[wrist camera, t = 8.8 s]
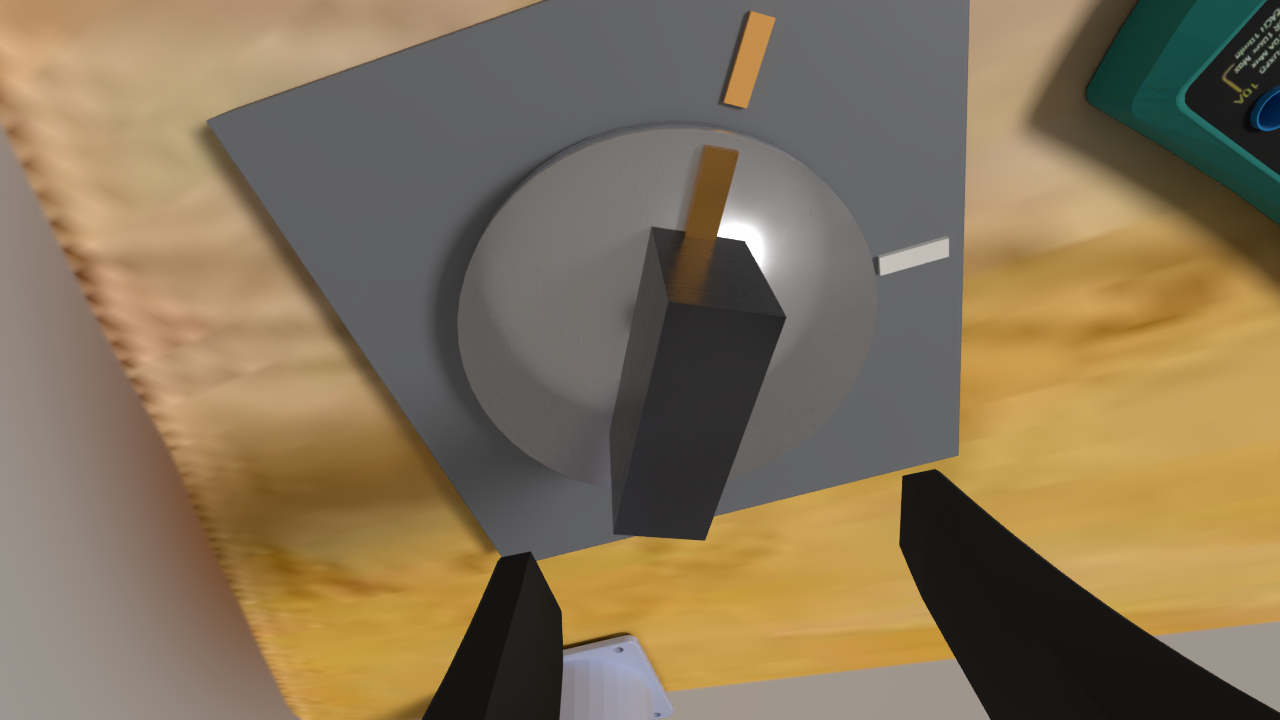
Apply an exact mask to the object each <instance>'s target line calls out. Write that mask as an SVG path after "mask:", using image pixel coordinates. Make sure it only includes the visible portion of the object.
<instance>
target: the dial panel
mask: <svg viewBox="0 0 1280 720" xmlns="http://www.w3.org/2000/svg"><path fill="white" fill-rule="evenodd" d="M969 4H970V0H543V1H540V2H537V3H534V4H532V5H529V6H526V7H523V8H520V9H517V10H515V11H512V12H509V13H506V14H503V15H500V16H497V17H495V18H492V19H489V20H486V21H483V22H480V23H477V24H475V25H472V26H469V27H466V28H463V29H460V30H458V31H455V32H452V33H449V34H446V35H443V36H440V37H438V38H435V39H432V40H429V41H426V42H423V43H421V44H418V45H415V46H412V47H409V48H406V49H403V50H401V51H398V52H395V53H392V54H389V55H386V56H383V57H381V58H378V59H375V60H372V61H369V62H366V63H364V64H361V65H358V66H355V67H352V68H349V69H346V70H344V71H341V72H338V73H335V74H332V75H329V76H326V77H324V78H321V79H318V80H315V81H312V82H309V83H307V84H304V85H301V86H298V87H295V88H292V89H289V90H287V91H284V92H281V93H278V94H275V95H272V96H269V97H267V98H264V99H261V100H258V101H255V102H252V103H250V104H247V105H244V106H241V107H238V108H235V109H232V110H230V111H228V112H225V113H223V114H221V115H218V116H216V117H214V118H211V119H209V120H207V123H208V124H209V126H210V127H211V129H212V130H213V132H214V133H215V135H216V136H217V138H218V139H219V141H220V142H221V144H222V145H223V147H224V148H225V150H226V151H227V152H228V154H229V155H230V157H231V158H232V160H233V161H234V163H235V164H236V166H237V167H238V169H239V170H240V172H241V173H242V175H243V176H244V178H245V179H246V180H247V182H248V183H249V185H250V186H251V188H252V189H253V191H254V192H255V194H256V195H257V197H258V198H259V200H260V201H261V203H262V204H263V206H264V207H265V208H266V210H267V211H268V213H269V214H270V216H271V217H272V219H273V220H274V222H275V223H276V225H277V226H278V228H279V229H280V231H281V232H282V234H283V235H284V236H285V238H286V239H287V241H288V242H289V244H290V245H291V247H292V248H293V250H294V251H295V253H296V254H297V256H298V257H299V259H300V260H301V262H302V263H303V265H304V266H305V267H306V269H307V270H308V272H309V273H310V275H311V276H312V278H313V279H314V281H315V282H316V284H317V285H318V287H319V288H320V290H321V291H322V293H323V294H324V295H325V297H326V298H327V300H328V301H329V303H330V304H331V306H332V307H333V309H334V310H335V312H336V313H337V315H338V316H339V318H340V319H341V321H342V322H343V323H344V325H345V326H346V328H347V329H348V331H349V332H350V334H351V335H352V337H353V338H354V340H355V341H356V343H357V344H358V346H359V347H360V349H361V350H362V351H363V353H364V354H365V356H366V357H367V359H368V360H369V362H370V363H371V365H372V366H373V368H374V369H375V371H376V372H377V374H378V375H379V377H380V378H381V379H382V381H383V382H384V384H385V385H386V387H387V388H388V390H389V391H390V393H391V394H392V396H393V397H394V399H395V400H396V402H397V403H398V405H399V406H400V408H401V409H402V410H403V412H404V413H405V415H406V416H407V418H408V419H409V421H410V422H411V424H412V425H413V427H414V428H415V430H416V431H417V433H418V434H419V436H420V437H421V438H422V440H423V441H424V443H425V444H426V446H427V447H428V449H429V450H430V452H431V453H432V455H433V456H434V458H435V459H436V461H437V462H438V464H439V465H440V466H441V468H442V469H443V471H444V472H445V474H446V475H447V477H448V478H449V480H450V481H451V483H452V484H453V486H454V487H455V489H456V490H457V492H458V493H459V494H460V496H461V497H462V499H463V500H464V502H465V503H466V505H467V506H468V508H469V509H470V511H471V512H472V514H473V515H474V517H475V518H476V520H477V521H478V522H479V524H480V525H481V527H482V528H483V530H484V531H485V533H486V534H487V536H488V537H489V539H490V540H491V542H492V543H493V545H494V546H495V548H496V549H497V551H498V552H499V553H500V555H501V556H502V557H505V556H510V555H515V554H520V553H524V552H529V551H531V552H532V554H533V556H534V558H535V560H536V561H537V560H541V559H545V558H549V557H553V556H557V555H561V554H565V553H569V552H574V551H578V550H582V549H586V548H590V547H594V546H598V545H602V544H606V543H610V542H614V541H618V540H622V539H626V538H630V537H634V536H630V535H615V534H613V515H612V490H611V489H609V488H605V487H601V486H596V485H592V484H588V483H585V482H582V481H579V480H576V479H573V478H571V477H568V476H566V475H564V474H561V473H559V472H557V471H555V470H553V469H551V468H548V467H547V466H545V465H543V464H542V463H540V462H539V461H537V460H535V459H534V458H532V457H530V456H529V455H528V454H526V453H525V452H524V451H522V450H521V449H520V448H519V447H517V446H516V445H515V444H513V443H512V442H511V441H510V440H509V439H508V438H507V437H506V436H505V435H504V434H503V433H502V432H501V431H500V430H499V429H498V428H497V427H496V425H495V424H494V423H493V422H492V420H491V419H490V418H489V416H488V415H487V414H486V412H485V411H484V410H483V408H482V406H481V405H480V403H479V401H478V399H477V398H476V396H475V394H474V392H473V390H472V388H471V386H470V383H469V381H468V378H467V375H466V373H465V370H464V367H463V363H462V358H461V353H460V349H459V342H458V325H457V319H458V309H459V299H460V293H461V289H462V286H463V282H464V278H465V274H466V271H467V268H468V265H469V263H470V260H471V258H472V255H473V253H474V251H475V248H476V246H477V244H478V241H479V239H480V237H481V235H482V232H483V230H484V229H485V227H486V225H487V224H488V222H489V221H490V219H491V218H492V216H493V214H494V213H495V211H496V210H497V208H498V207H499V206H500V204H501V203H502V202H503V201H504V200H505V199H506V197H507V196H508V195H509V194H510V193H511V192H512V190H513V189H514V188H515V187H516V186H517V185H518V184H519V183H520V182H521V181H523V180H524V179H525V178H526V177H527V176H528V175H529V174H531V173H532V172H533V171H534V170H535V169H536V168H537V167H539V166H540V165H542V164H543V163H545V162H546V161H548V160H549V159H551V158H552V157H554V156H555V155H557V154H558V153H560V152H562V151H563V150H565V149H567V148H569V147H571V146H573V145H575V144H578V143H580V142H582V141H584V140H586V139H588V138H590V137H592V136H596V135H599V134H602V133H605V132H608V131H612V130H615V129H618V128H621V127H626V126H632V125H638V124H644V123H650V122H663V121H692V122H701V123H710V124H717V125H721V126H725V127H729V128H733V129H737V130H741V131H745V132H747V133H750V134H752V135H755V136H757V137H759V138H762V139H764V140H766V141H769V142H771V143H773V144H775V145H777V146H778V147H780V148H782V149H783V150H785V151H786V152H788V153H790V154H791V155H793V156H795V157H796V158H798V159H799V160H800V161H801V162H802V163H804V164H805V165H806V166H807V167H808V168H809V169H811V170H812V171H813V172H814V173H815V174H817V175H818V176H819V177H820V178H821V179H822V180H823V181H824V182H825V183H826V184H827V185H828V186H829V187H830V188H831V189H832V190H833V191H834V193H835V194H836V195H837V196H838V197H839V198H840V200H841V201H842V202H843V203H844V204H845V205H846V207H847V208H848V209H849V211H850V212H851V214H852V216H853V217H854V219H855V221H856V222H857V224H858V226H859V227H860V229H861V231H862V233H863V236H864V238H865V241H866V243H867V246H868V248H869V251H870V253H871V257H872V262H873V266H874V271H875V275H876V284H877V301H878V302H877V313H876V324H875V329H874V333H873V337H872V341H871V345H870V349H869V351H868V354H867V356H866V359H865V362H864V364H863V367H862V369H861V371H860V373H859V375H858V377H857V378H856V380H855V382H854V384H853V386H852V387H851V389H850V391H849V392H848V393H847V395H846V396H845V398H844V399H843V400H842V402H841V403H840V405H839V406H838V407H837V409H836V410H835V411H834V412H833V413H832V414H831V415H830V416H829V417H828V419H827V420H826V421H825V422H824V423H823V424H822V425H821V426H820V427H819V428H818V429H817V430H815V431H814V432H813V433H812V434H811V435H810V436H809V437H808V438H806V439H805V440H804V441H803V442H801V443H800V444H799V445H797V446H796V447H794V448H793V449H792V450H790V451H789V452H787V453H786V454H784V455H783V456H781V457H779V458H778V459H776V460H774V461H772V462H771V463H769V464H767V465H765V466H763V467H761V468H759V469H757V470H754V471H752V472H750V473H748V474H746V475H743V476H740V477H737V478H734V479H731V480H729V481H727V482H726V484H725V487H724V490H723V493H722V495H721V498H720V501H719V504H718V506H717V509H716V512H715V514H714V516H718V515H722V514H726V513H730V512H734V511H738V510H742V509H746V508H750V507H754V506H758V505H762V504H766V503H770V502H774V501H778V500H782V499H786V498H790V497H794V496H798V495H802V494H806V493H810V492H814V491H818V490H822V489H826V488H830V487H834V486H838V485H842V484H846V483H850V482H854V481H858V480H862V479H866V478H870V477H874V476H878V475H882V474H886V473H890V472H894V471H898V470H902V469H906V468H910V467H914V466H918V465H922V464H926V463H930V462H934V461H938V460H942V459H946V458H950V457H954V456H958V454H959V413H960V372H961V331H962V290H963V249H964V208H965V168H966V127H967V86H968V45H969Z"/></svg>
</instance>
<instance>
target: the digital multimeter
mask: <svg viewBox="0 0 1280 720" xmlns="http://www.w3.org/2000/svg"><path fill="white" fill-rule="evenodd" d="M1086 98H1087V100H1088V101H1089V103H1090V105H1092V106H1094V107H1095V108H1097V109H1099V110H1101V111H1102V112H1104V113H1106V114H1108V115H1109V116H1111V117H1113V118H1114V119H1116V120H1118V121H1120V122H1121V123H1123V124H1125V125H1127V126H1128V127H1130V128H1132V129H1133V130H1135V131H1137V132H1139V133H1140V134H1142V135H1144V136H1146V137H1147V138H1149V139H1151V140H1152V141H1154V142H1156V143H1158V144H1159V145H1161V146H1162V147H1164V148H1165V149H1167V150H1169V151H1170V152H1172V153H1173V154H1175V155H1177V156H1178V157H1180V158H1181V159H1183V160H1185V161H1186V162H1188V163H1189V164H1191V165H1193V166H1194V167H1196V168H1197V169H1199V170H1200V171H1202V172H1204V173H1205V174H1207V175H1208V176H1210V177H1212V178H1213V179H1215V180H1216V181H1218V182H1220V183H1221V184H1223V185H1224V186H1226V187H1228V188H1229V189H1230V190H1232V191H1233V192H1235V193H1236V194H1237V195H1239V196H1240V197H1241V198H1243V199H1244V200H1246V201H1247V202H1248V203H1250V204H1251V205H1252V206H1254V207H1255V208H1256V209H1258V210H1259V211H1261V212H1262V213H1263V214H1265V215H1266V216H1267V217H1269V218H1270V219H1272V220H1273V221H1274V222H1276V223H1277V224H1278V225H1280V0H1139V2H1138V3H1137V5H1136V6H1135V8H1134V9H1133V11H1132V12H1131V14H1130V15H1129V17H1128V18H1127V20H1126V21H1125V23H1124V25H1123V26H1122V28H1121V30H1120V31H1119V33H1118V35H1117V37H1116V38H1115V40H1114V42H1113V44H1112V45H1111V47H1110V49H1109V50H1108V52H1107V54H1106V56H1105V57H1104V59H1103V61H1102V63H1101V64H1100V66H1099V68H1098V70H1097V71H1096V73H1095V75H1094V76H1093V78H1092V80H1091V82H1090V84H1089V85H1088V87H1087V95H1086ZM1189 108H1190V109H1189ZM1192 110H1193V111H1194V112H1193V111H1192ZM1196 113H1197V114H1198V115H1197V114H1196ZM1200 116H1201V117H1202V118H1201V117H1200ZM1204 119H1205V120H1204ZM1208 122H1209V123H1208ZM1211 124H1212V125H1213V126H1212V125H1211ZM1215 127H1216V128H1217V129H1216V128H1215ZM1219 130H1220V131H1221V132H1220V131H1219ZM1223 133H1224V134H1225V135H1224V134H1223ZM1227 136H1228V137H1229V138H1228V137H1227ZM1231 139H1232V140H1233V141H1232V140H1231ZM1234 141H1235V142H1236V143H1235V142H1234ZM1238 144H1239V145H1240V146H1239V145H1238ZM1242 147H1243V148H1244V149H1243V148H1242ZM1246 150H1247V151H1248V152H1247V151H1246ZM1250 153H1251V154H1250ZM1253 155H1254V156H1255V157H1254V156H1253ZM1257 158H1258V159H1259V160H1258V159H1257ZM1261 161H1262V162H1263V163H1262V162H1261ZM1265 164H1266V165H1265ZM1269 167H1270V168H1269ZM1272 169H1273V170H1274V171H1273V170H1272ZM1276 172H1277V173H1276Z"/></svg>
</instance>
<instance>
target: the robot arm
mask: <svg viewBox="0 0 1280 720" xmlns="http://www.w3.org/2000/svg"><path fill="white" fill-rule="evenodd" d="M899 545H900V548H901V550H902V553H903V555H904V557H905V560H906V562H907V565H908V567H909V569H910V572H911V574H912V576H913V579H914V581H915V583H916V586H917V588H918V590H919V592H920V595H921V597H922V599H923V601H924V602H925V604H926V606H927V608H928V610H929V611H930V613H931V615H932V617H933V619H934V620H935V622H936V624H937V626H938V628H939V629H940V631H941V633H942V635H943V636H944V638H945V640H946V642H947V644H948V645H949V647H950V649H951V651H952V652H953V654H954V656H955V658H956V659H957V661H958V663H959V665H960V666H961V668H962V670H963V672H964V673H965V675H966V677H967V679H968V681H969V682H970V684H971V685H972V687H973V689H974V691H975V692H976V694H977V696H978V698H979V700H980V702H981V703H982V705H983V707H984V709H985V710H986V712H987V714H988V716H989V718H990V719H991V720H1280V712H1278V711H1276V710H1274V709H1273V708H1271V707H1269V706H1267V705H1265V704H1263V703H1262V702H1260V701H1258V700H1257V699H1255V698H1253V697H1251V696H1249V695H1248V694H1246V693H1244V692H1242V691H1241V690H1239V689H1237V688H1235V687H1233V686H1232V685H1230V684H1229V683H1227V682H1225V681H1223V680H1222V679H1220V678H1219V677H1217V676H1215V675H1214V674H1212V673H1210V672H1209V671H1207V670H1205V669H1204V668H1202V667H1201V666H1199V665H1197V664H1195V663H1194V662H1193V661H1191V660H1189V659H1188V658H1186V657H1184V656H1183V655H1181V654H1180V653H1178V652H1177V651H1175V650H1173V649H1172V648H1170V647H1169V646H1167V645H1166V644H1164V643H1163V642H1161V641H1159V640H1158V639H1156V638H1155V637H1153V636H1152V635H1150V634H1149V633H1147V632H1146V631H1144V630H1143V629H1141V628H1140V627H1138V626H1137V625H1135V624H1134V623H1132V622H1131V621H1129V620H1128V619H1126V618H1125V617H1123V616H1122V615H1120V614H1119V613H1118V612H1116V611H1115V610H1113V609H1112V608H1110V607H1109V606H1107V605H1106V604H1105V603H1103V602H1102V601H1101V600H1099V599H1098V598H1096V597H1095V596H1094V595H1092V594H1091V593H1089V592H1088V591H1087V590H1085V589H1084V588H1082V587H1081V586H1080V585H1078V584H1077V583H1076V582H1074V581H1073V580H1072V579H1070V578H1069V577H1068V576H1066V575H1065V574H1064V573H1062V572H1061V571H1060V570H1058V569H1057V568H1056V567H1054V566H1053V565H1052V564H1050V563H1049V562H1048V561H1047V560H1045V559H1044V558H1043V557H1041V556H1040V555H1039V554H1038V553H1036V552H1035V551H1034V550H1033V549H1031V548H1030V547H1029V546H1027V545H1026V544H1025V543H1024V542H1022V541H1021V540H1020V539H1019V538H1017V537H1016V536H1015V535H1014V534H1012V533H1011V532H1010V531H1009V530H1007V529H1006V528H1005V527H1004V526H1003V525H1001V524H1000V523H999V522H998V521H997V520H995V519H994V518H993V517H992V516H991V515H989V514H988V513H987V512H986V511H985V510H983V509H982V508H981V507H980V506H979V505H978V504H976V503H975V502H974V501H973V500H972V499H971V498H969V497H968V496H967V495H966V494H965V493H964V492H963V491H961V490H960V489H959V488H958V487H957V486H956V485H955V484H953V483H952V482H951V481H950V480H949V479H948V478H947V477H945V476H944V475H943V474H942V473H941V472H939V471H938V470H936V469H934V470H929V471H924V472H919V473H914V474H909V475H904V476H903V477H902V499H901V520H900V542H899ZM672 714H673V704H672V703H671V701H670V699H669V697H668V695H667V693H666V691H665V690H664V688H663V686H662V684H661V682H660V680H659V678H658V676H657V675H656V673H655V671H654V669H653V667H652V665H651V663H650V662H649V660H648V658H647V656H646V654H645V652H644V650H643V649H642V647H641V645H640V643H639V641H638V639H637V638H636V637H634V636H632V635H625V636H621V637H616V638H612V639H608V640H603V641H599V642H595V643H590V644H586V645H582V646H578V647H573V648H569V649H565V650H563V635H562V613H561V609H560V607H559V605H558V603H557V601H556V599H555V597H554V595H553V594H552V592H551V590H550V588H549V586H548V584H547V582H546V580H545V578H544V576H543V574H542V572H541V570H540V568H539V566H538V564H537V562H536V560H535V558H534V556H533V554H532V552H531V551H529V552H524V553H520V554H515V555H510V556H505V557H501V558H500V559H499V561H498V562H497V564H496V567H495V569H494V571H493V574H492V576H491V578H490V581H489V583H488V585H487V588H486V590H485V592H484V594H483V597H482V599H481V601H480V603H479V606H478V608H477V610H476V612H475V614H474V617H473V619H472V621H471V623H470V625H469V628H468V630H467V632H466V634H465V636H464V638H463V640H462V642H461V644H460V646H459V648H458V650H457V652H456V654H455V657H454V659H453V661H452V663H451V665H450V667H449V669H448V671H447V673H446V675H445V677H444V679H443V681H442V683H441V685H440V686H439V688H438V690H437V692H436V694H435V696H434V698H433V699H432V701H431V703H430V705H429V707H428V709H427V710H426V712H425V714H424V716H423V718H422V720H655V719H660V718H664V717H668V716H670V715H672Z"/></svg>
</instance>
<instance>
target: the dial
mask: <svg viewBox="0 0 1280 720" xmlns="http://www.w3.org/2000/svg"><path fill="white" fill-rule="evenodd" d="M877 302H878V301H877V284H876V275H875V271H874V266H873V262H872V257H871V253H870V251H869V248H868V246H867V243H866V241H865V238H864V236H863V233H862V231H861V229H860V227H859V226H858V224H857V222H856V221H855V219H854V217H853V216H852V214H851V212H850V211H849V209H848V208H847V207H846V205H845V204H844V203H843V202H842V201H841V200H840V198H839V197H838V196H837V195H836V194H835V193H834V191H833V190H832V189H831V188H830V187H829V186H828V185H827V184H826V183H825V182H824V181H823V180H822V179H821V178H820V177H819V176H818V175H817V174H815V173H814V172H813V171H812V170H811V169H809V168H808V167H807V166H806V165H805V164H804V163H802V162H801V161H800V160H799V159H798V158H796V157H795V156H793V155H791V154H790V153H788V152H786V151H785V150H783V149H782V148H780V147H778V146H777V145H775V144H773V143H771V142H769V141H766V140H764V139H762V138H759V137H757V136H755V135H752V134H750V133H747V132H745V131H741V130H737V129H733V128H729V127H725V126H721V125H717V124H710V123H701V122H692V121H663V122H650V123H644V124H638V125H632V126H626V127H621V128H618V129H615V130H612V131H608V132H605V133H602V134H599V135H596V136H592V137H590V138H588V139H586V140H584V141H582V142H580V143H578V144H575V145H573V146H571V147H569V148H567V149H565V150H563V151H562V152H560V153H558V154H557V155H555V156H554V157H552V158H551V159H549V160H548V161H546V162H545V163H543V164H542V165H540V166H539V167H537V168H536V169H535V170H534V171H533V172H532V173H531V174H529V175H528V176H527V177H526V178H525V179H524V180H523V181H521V182H520V183H519V184H518V185H517V186H516V187H515V188H514V189H513V190H512V192H511V193H510V194H509V195H508V196H507V197H506V199H505V200H504V201H503V202H502V203H501V204H500V206H499V207H498V208H497V210H496V211H495V213H494V214H493V216H492V218H491V219H490V221H489V222H488V224H487V225H486V227H485V229H484V230H483V232H482V235H481V237H480V239H479V241H478V244H477V246H476V248H475V251H474V253H473V255H472V258H471V260H470V263H469V265H468V268H467V271H466V274H465V278H464V282H463V286H462V289H461V293H460V299H459V309H458V319H457V325H458V342H459V349H460V353H461V358H462V363H463V367H464V370H465V373H466V375H467V378H468V381H469V383H470V386H471V388H472V390H473V392H474V394H475V396H476V398H477V399H478V401H479V403H480V405H481V406H482V408H483V410H484V411H485V412H486V414H487V415H488V416H489V418H490V419H491V420H492V422H493V423H494V424H495V425H496V427H497V428H498V429H499V430H500V431H501V432H502V433H503V434H504V435H505V436H506V437H507V438H508V439H509V440H510V441H511V442H512V443H513V444H515V445H516V446H517V447H519V448H520V449H521V450H522V451H524V452H525V453H526V454H528V455H529V456H530V457H532V458H534V459H535V460H537V461H539V462H540V463H542V464H543V465H545V466H547V467H548V468H551V469H553V470H555V471H557V472H559V473H561V474H564V475H566V476H568V477H571V478H573V479H576V480H579V481H582V482H585V483H588V484H592V485H596V486H601V487H605V488H609V489H611V490H612V515H613V534H615V535H630V536H645V537H659V538H674V539H689V540H704V541H705V539H706V536H707V534H708V531H709V528H710V525H711V523H712V520H713V517H714V514H715V512H716V509H717V506H718V504H719V501H720V498H721V495H722V493H723V490H724V487H725V484H726V482H727V481H729V480H731V479H734V478H737V477H740V476H743V475H746V474H748V473H750V472H752V471H754V470H757V469H759V468H761V467H763V466H765V465H767V464H769V463H771V462H772V461H774V460H776V459H778V458H779V457H781V456H783V455H784V454H786V453H787V452H789V451H790V450H792V449H793V448H794V447H796V446H797V445H799V444H800V443H801V442H803V441H804V440H805V439H806V438H808V437H809V436H810V435H811V434H812V433H813V432H814V431H815V430H817V429H818V428H819V427H820V426H821V425H822V424H823V423H824V422H825V421H826V420H827V419H828V417H829V416H830V415H831V414H832V413H833V412H834V411H835V410H836V409H837V407H838V406H839V405H840V403H841V402H842V400H843V399H844V398H845V396H846V395H847V393H848V392H849V391H850V389H851V387H852V386H853V384H854V382H855V380H856V378H857V377H858V375H859V373H860V371H861V369H862V367H863V364H864V362H865V359H866V356H867V354H868V351H869V349H870V345H871V341H872V337H873V333H874V329H875V324H876V313H877Z"/></svg>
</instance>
